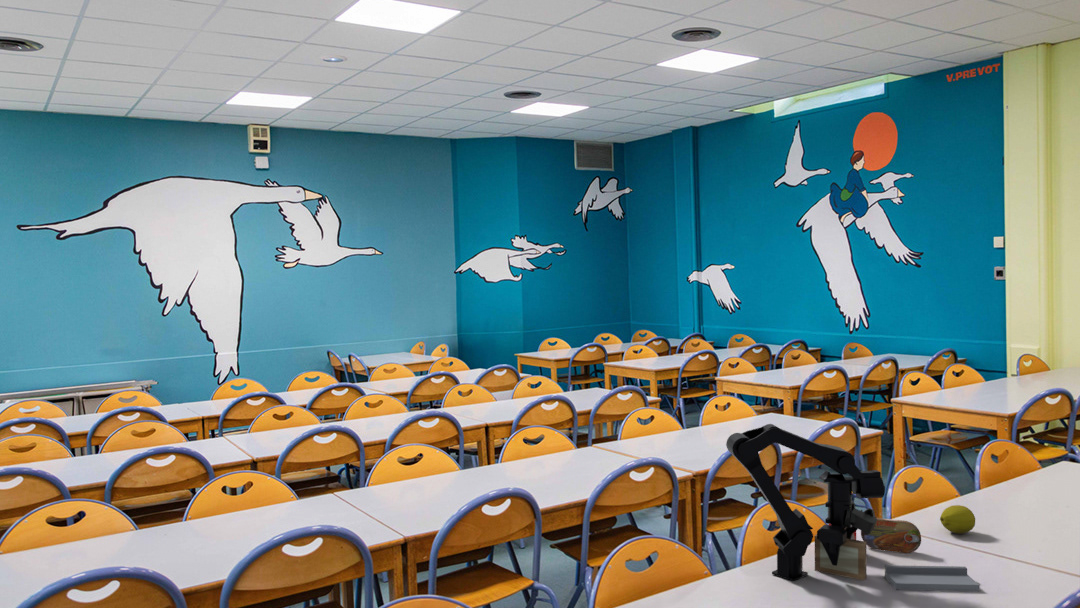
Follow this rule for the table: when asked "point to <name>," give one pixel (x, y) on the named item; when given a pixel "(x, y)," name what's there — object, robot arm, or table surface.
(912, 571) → the ledge
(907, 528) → the tin
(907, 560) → the table surface
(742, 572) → the table surface
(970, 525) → the lemon
